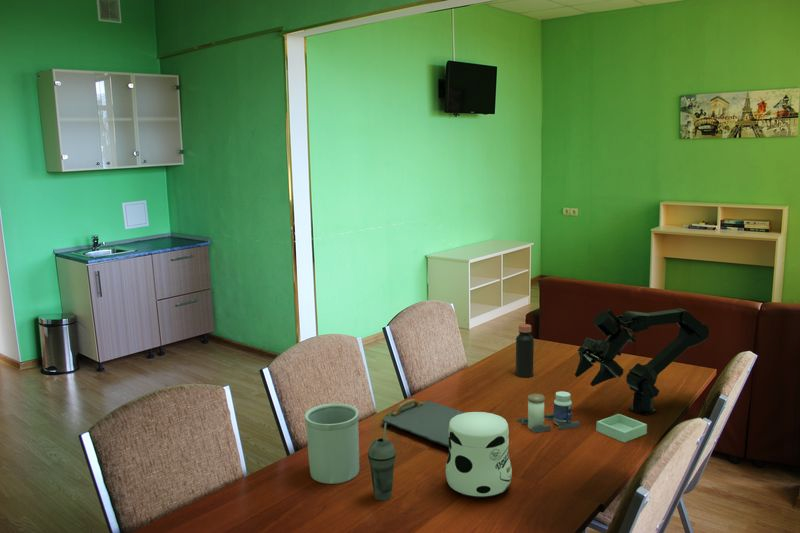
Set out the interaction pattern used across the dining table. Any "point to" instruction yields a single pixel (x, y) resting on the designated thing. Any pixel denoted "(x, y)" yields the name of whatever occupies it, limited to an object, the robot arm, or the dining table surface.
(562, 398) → the pill bottle
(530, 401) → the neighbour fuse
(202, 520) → the dining table surface
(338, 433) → the utensil holder
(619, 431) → the tray
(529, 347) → the black water bottle
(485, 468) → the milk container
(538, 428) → the set of grey bars
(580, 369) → the robot arm
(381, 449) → the beverage cup
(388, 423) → the serving board
